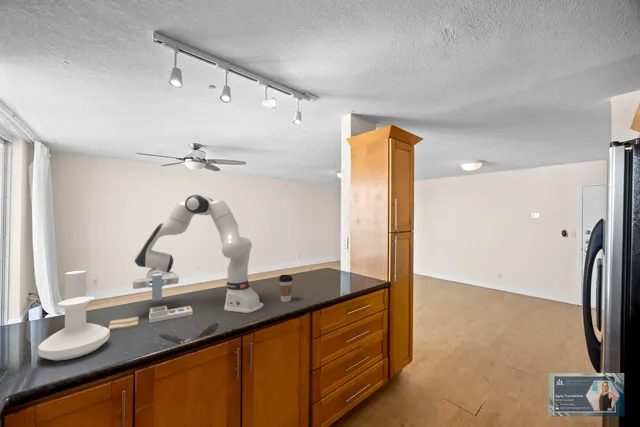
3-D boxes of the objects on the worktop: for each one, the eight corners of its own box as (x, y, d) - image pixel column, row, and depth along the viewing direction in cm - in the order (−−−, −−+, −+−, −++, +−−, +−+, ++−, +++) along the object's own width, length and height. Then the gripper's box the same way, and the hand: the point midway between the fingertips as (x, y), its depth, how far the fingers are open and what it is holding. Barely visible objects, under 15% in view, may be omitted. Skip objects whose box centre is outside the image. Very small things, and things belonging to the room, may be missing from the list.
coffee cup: (287, 297, 166) (287, 273, 166) (295, 300, 160) (295, 276, 160) (276, 300, 160) (276, 275, 160) (284, 303, 154) (284, 278, 154)
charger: (152, 297, 132) (152, 274, 132) (161, 296, 134) (161, 273, 134) (152, 300, 128) (152, 276, 128) (161, 299, 130) (162, 275, 130)
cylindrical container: (62, 329, 117) (62, 274, 118) (68, 324, 124) (68, 271, 124) (82, 326, 121) (83, 272, 121) (87, 321, 127) (88, 270, 127)
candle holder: (122, 338, 109) (122, 292, 110) (79, 366, 89) (79, 310, 90) (73, 339, 109) (74, 293, 109) (19, 366, 89) (20, 310, 89)
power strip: (149, 322, 125) (149, 313, 126) (149, 316, 133) (149, 308, 133) (192, 314, 136) (192, 306, 136) (190, 309, 144) (190, 301, 144)
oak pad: (110, 323, 125) (110, 320, 125) (138, 318, 131) (138, 316, 131) (107, 331, 116) (107, 329, 116) (137, 325, 122) (137, 323, 122)
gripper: (132, 275, 136) (131, 281, 125) (177, 271, 148) (179, 276, 136) (132, 287, 136) (131, 294, 125) (177, 282, 148) (179, 288, 136)
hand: (157, 284), depth 131 cm, fingers closed on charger, 4 cm apart
